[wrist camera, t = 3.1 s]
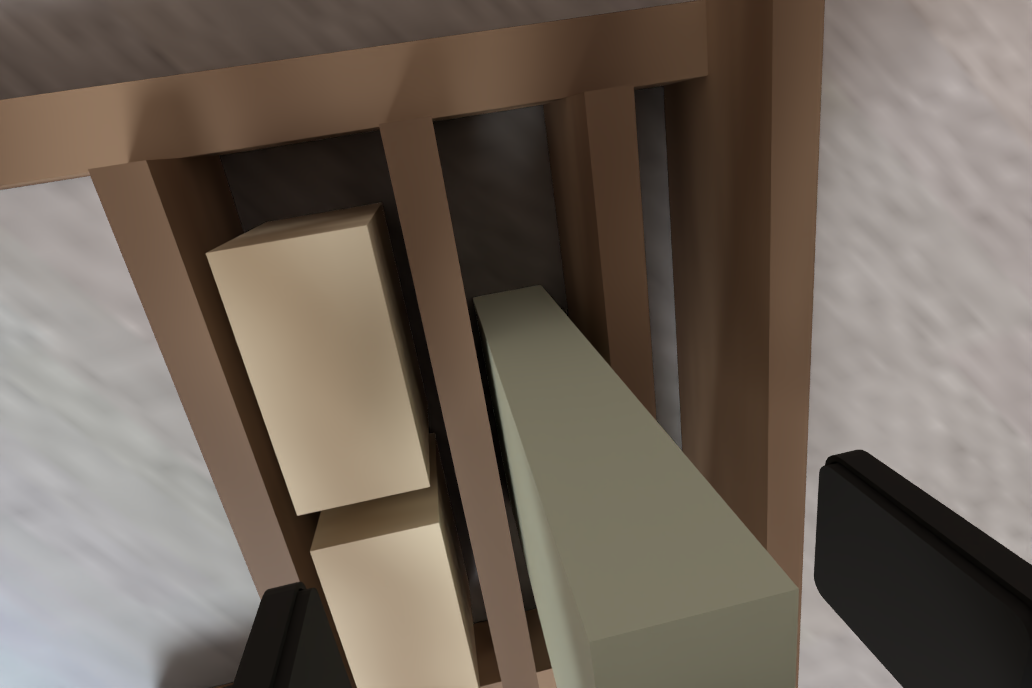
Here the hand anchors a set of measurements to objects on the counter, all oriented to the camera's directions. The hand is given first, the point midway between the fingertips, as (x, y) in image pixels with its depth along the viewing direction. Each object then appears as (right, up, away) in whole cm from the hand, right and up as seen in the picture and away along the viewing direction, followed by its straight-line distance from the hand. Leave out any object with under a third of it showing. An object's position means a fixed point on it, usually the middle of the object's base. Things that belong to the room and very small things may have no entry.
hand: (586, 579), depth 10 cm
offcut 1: (-6, +5, +6) cm, 10 cm away
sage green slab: (-1, +3, +7) cm, 8 cm away
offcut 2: (-5, -1, +8) cm, 10 cm away
